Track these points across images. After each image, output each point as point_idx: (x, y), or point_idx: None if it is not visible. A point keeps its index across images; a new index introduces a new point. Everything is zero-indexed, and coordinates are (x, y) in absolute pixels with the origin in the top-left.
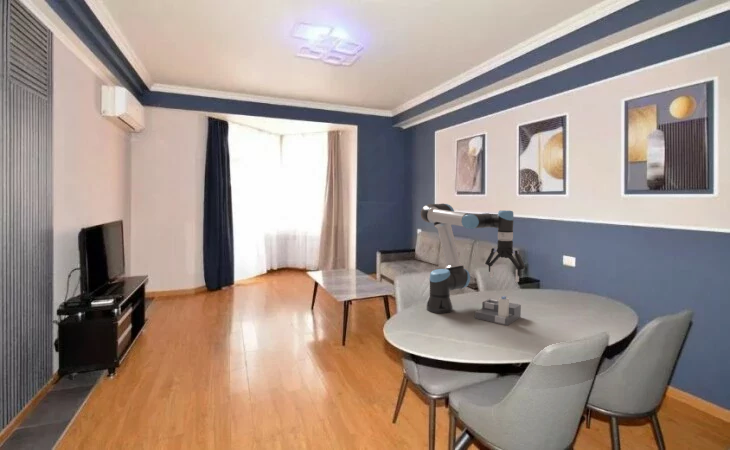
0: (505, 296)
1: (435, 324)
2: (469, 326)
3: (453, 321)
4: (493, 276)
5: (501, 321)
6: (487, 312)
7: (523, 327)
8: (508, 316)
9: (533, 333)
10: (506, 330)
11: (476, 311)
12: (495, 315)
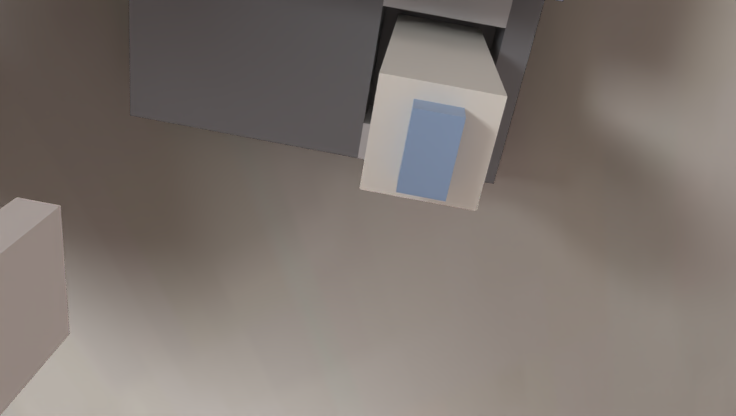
0: (451, 125)
1: None
2: (217, 311)
3: None
4: (37, 227)
5: None
6: (248, 68)
7: (637, 119)
8: None
9: (723, 232)
10: (497, 266)
11: (138, 97)
12: (356, 131)
